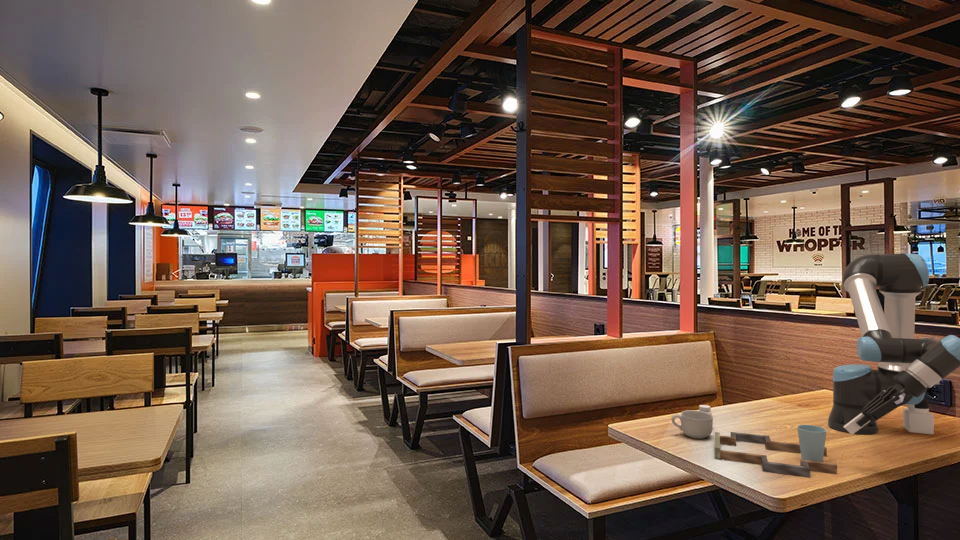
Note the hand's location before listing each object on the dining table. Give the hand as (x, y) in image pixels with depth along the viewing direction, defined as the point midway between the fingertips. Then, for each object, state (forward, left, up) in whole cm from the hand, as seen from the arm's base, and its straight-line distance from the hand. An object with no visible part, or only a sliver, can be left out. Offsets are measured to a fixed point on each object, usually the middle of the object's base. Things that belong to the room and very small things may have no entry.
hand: (847, 430), depth 158 cm
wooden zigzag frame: (+20, -1, -11) cm, 23 cm away
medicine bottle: (-31, -50, -11) cm, 60 cm away
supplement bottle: (+40, -25, -11) cm, 49 cm away
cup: (+9, -1, -11) cm, 15 cm away
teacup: (+44, -14, -11) cm, 48 cm away
